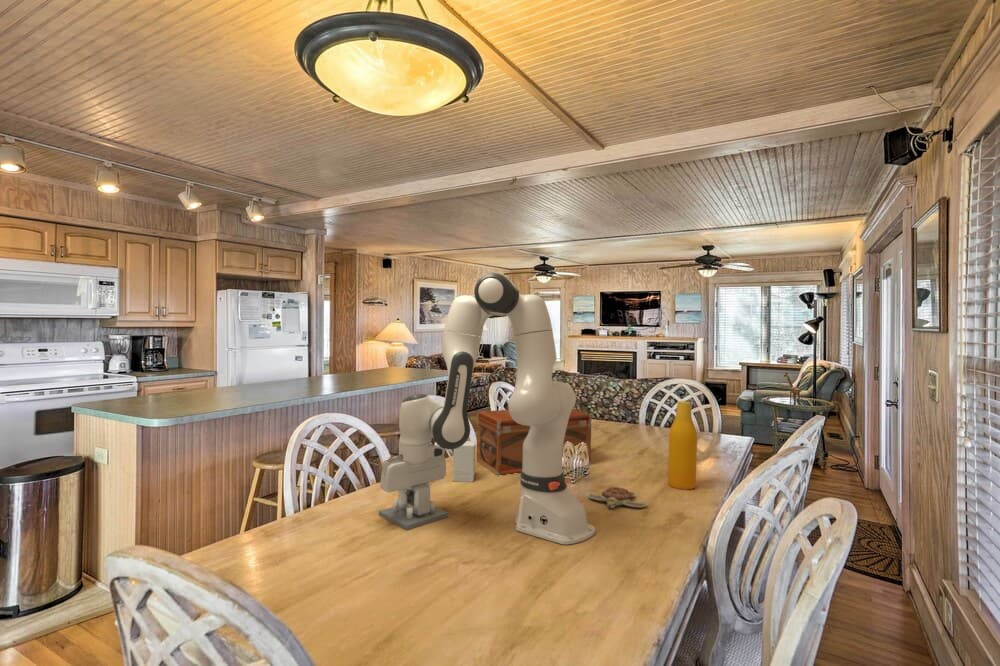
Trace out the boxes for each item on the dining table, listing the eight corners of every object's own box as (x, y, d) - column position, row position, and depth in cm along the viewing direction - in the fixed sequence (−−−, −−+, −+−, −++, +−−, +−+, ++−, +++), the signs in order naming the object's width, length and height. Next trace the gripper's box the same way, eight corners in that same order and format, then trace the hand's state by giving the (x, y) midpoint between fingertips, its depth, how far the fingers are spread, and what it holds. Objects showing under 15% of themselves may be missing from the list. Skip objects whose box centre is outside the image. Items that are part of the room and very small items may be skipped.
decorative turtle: (580, 506, 157) (580, 490, 157) (596, 490, 172) (596, 475, 172) (639, 518, 149) (640, 500, 148) (651, 500, 163) (652, 485, 163)
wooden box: (475, 461, 203) (476, 411, 202) (563, 452, 220) (564, 406, 219) (496, 476, 184) (497, 421, 184) (591, 465, 201) (592, 414, 200)
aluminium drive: (430, 511, 143) (430, 486, 143) (418, 515, 141) (418, 490, 140) (409, 502, 151) (410, 478, 150) (397, 505, 148) (398, 481, 148)
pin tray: (448, 516, 145) (448, 502, 145) (406, 530, 136) (406, 514, 136) (419, 503, 155) (419, 489, 155) (378, 515, 146) (379, 500, 146)
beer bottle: (691, 482, 182) (694, 400, 181) (699, 490, 172) (701, 405, 172) (664, 480, 182) (667, 399, 182) (670, 489, 173) (673, 404, 173)
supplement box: (473, 482, 177) (474, 445, 177) (452, 481, 177) (452, 445, 177) (475, 475, 184) (475, 440, 184) (454, 475, 184) (455, 440, 184)
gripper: (388, 461, 136) (388, 512, 136) (449, 448, 150) (448, 495, 150) (376, 456, 140) (375, 506, 141) (436, 444, 154) (435, 489, 155)
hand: (414, 500), depth 145 cm, fingers closed on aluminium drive, 4 cm apart
